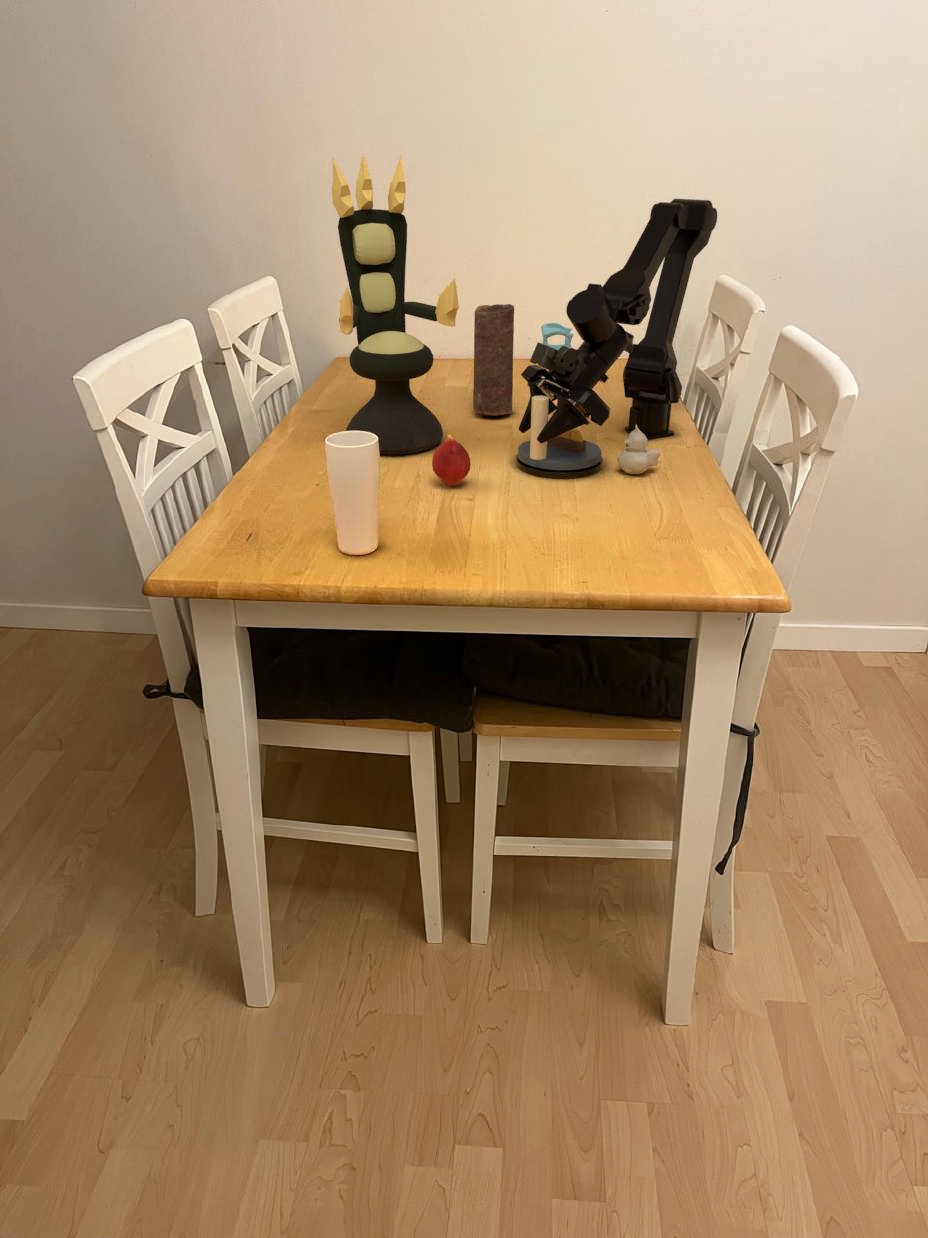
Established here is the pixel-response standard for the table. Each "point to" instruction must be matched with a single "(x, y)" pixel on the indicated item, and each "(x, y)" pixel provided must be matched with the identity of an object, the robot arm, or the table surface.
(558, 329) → the chair
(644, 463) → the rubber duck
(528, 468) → the turntable base
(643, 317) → the robot arm
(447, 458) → the onion
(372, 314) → the black throne
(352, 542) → the drinking glass
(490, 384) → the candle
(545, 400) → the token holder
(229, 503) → the table surface
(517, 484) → the table surface
